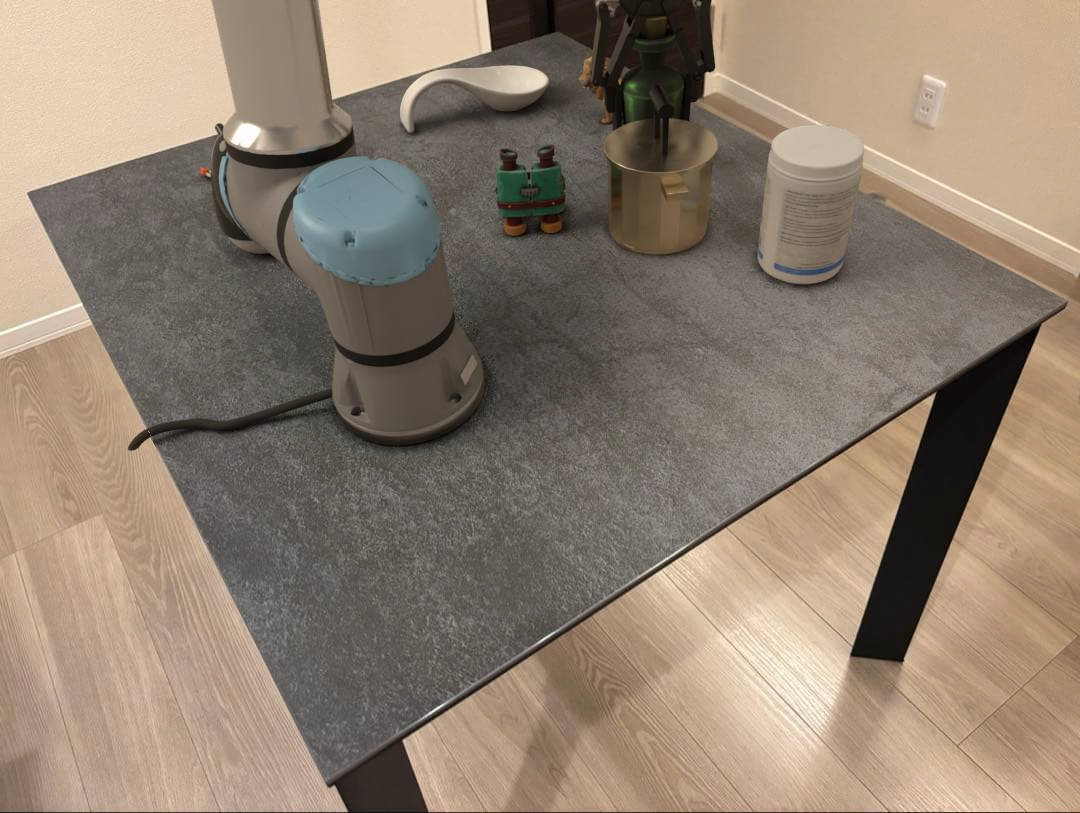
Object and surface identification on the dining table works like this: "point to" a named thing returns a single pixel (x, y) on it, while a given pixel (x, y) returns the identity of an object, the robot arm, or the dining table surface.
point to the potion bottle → (651, 72)
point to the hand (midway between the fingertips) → (650, 129)
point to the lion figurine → (597, 90)
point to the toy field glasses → (530, 191)
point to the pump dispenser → (223, 215)
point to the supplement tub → (809, 202)
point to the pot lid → (660, 143)
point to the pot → (658, 210)
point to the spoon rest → (481, 87)
